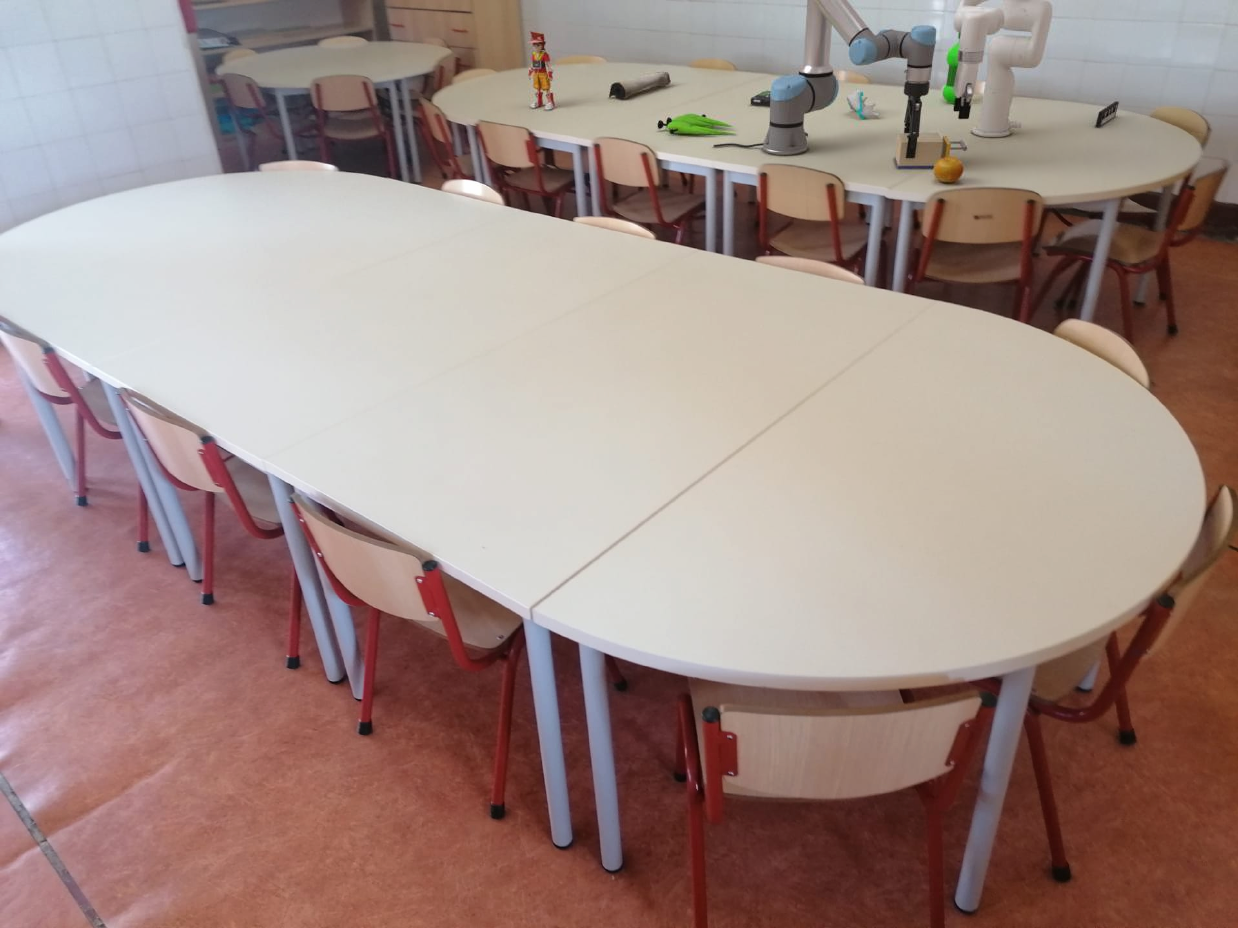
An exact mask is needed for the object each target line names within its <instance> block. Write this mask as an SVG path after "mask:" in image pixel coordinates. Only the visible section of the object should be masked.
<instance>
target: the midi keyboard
mask: <svg viewBox="0 0 1238 928" xmlns="http://www.w3.org/2000/svg"><path fill="white" fill-rule="evenodd" d="M1119 103H1120V101H1117V100H1116V101H1113V102H1112V103H1111V104H1109V105H1107V106H1106V107H1104V108H1103V109H1101V110H1100V111H1098V114H1097V118H1096V122H1095V127H1096V128H1099V127H1101V126H1102V125H1104V124H1105V123H1106V122H1108V121H1109V120H1111V119H1113V118H1114V117H1116V115H1117V111H1118V107H1119Z"/></svg>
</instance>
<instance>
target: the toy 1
mask: <svg viewBox="0 0 1238 928" xmlns="http://www.w3.org/2000/svg"><path fill="white" fill-rule="evenodd" d="M529 33H530V35H531V36H528V37H527V38H528V39H529V40H528V41H527V43H529V44H530V43H531V44H532V48H533V50H534V51H533V52H532V55H531V58H530V59H531V63H530V66H528V74H527V75H528V76H527V77H528V79H529V80H531V75H532V74H533V84H532V85H533V86H532V87H533V88H534V89H535V90H536V92H534V95H535V97H536V100H535V101H533V102H531V105H530V108H531V109H535V108H538V107H542V106H544V101H543V100H544V99H543V95H544V92H546V94H545V97H546V99H547V103H546V104H545V106H544V110H546V111H549V110H553V109H554V107H555V106H556V105H555V99H554V92H551V91H550V90H551V86H552V84H551V82H552V81H553V80H554V77H553V73H554V71H555V70H554V69H552V68H551V63H550V61H551V59H550V58H551V57H550V54H549V53H548V52H547V50H546V48H545V46H546V44H547V41H545V35H544V33H543V32H542V33H539V32H535V31H529Z"/></svg>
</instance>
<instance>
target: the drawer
mask: <svg viewBox="0 0 1238 928" xmlns="http://www.w3.org/2000/svg"><path fill="white" fill-rule="evenodd" d="M941 139H942V141H943V147H942V153H941V159H942V158H945V157H950V154H951V153H950V152H951V151H953V150H954V151H955V150H957V151H959V150H963V151H964V152H966V151H967V150H968V147H967V144H966V143H965V141H964V140H963V139H960V140H959V141H956V140H955V141H953V140H952V141H950V139H949V138H948V136H947V135H942V138H941ZM952 145H960V146H954V147H953V146H952Z"/></svg>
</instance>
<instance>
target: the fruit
mask: <svg viewBox="0 0 1238 928" xmlns="http://www.w3.org/2000/svg"><path fill="white" fill-rule="evenodd" d="M964 170H965V169H964V164H963V162H962V161H961V160H960V159H959V158H957V157H955V156H949V157H945V158H942V159H940V160H939V161H937V163H936V164H935V166H934V168H933V177H935V179H936V180H937V181H938V182H941V183H954V182H956V181H958V180H959V179H960V178H961V177H962V175H963V173H964Z"/></svg>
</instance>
